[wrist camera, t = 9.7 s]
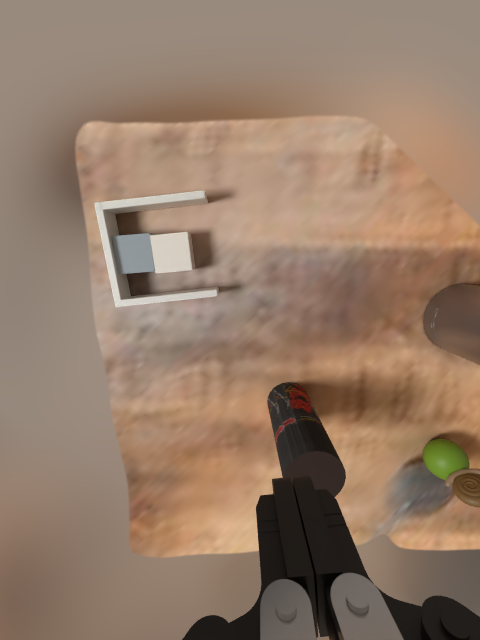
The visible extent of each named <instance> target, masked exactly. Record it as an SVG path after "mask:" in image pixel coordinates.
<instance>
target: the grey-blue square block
mask: <svg viewBox="0 0 480 640" xmlns="http://www.w3.org/2000/svg"><path fill="white" fill-rule="evenodd" d="M150 235H155V234H151V233H145V234H133V235H120V236H112V241H113V246H114V252H115V258H116V264H117V270H118V274H128V273H140V272H152V271H155V266H154V260H153V253H152V247H151V240H150Z"/></svg>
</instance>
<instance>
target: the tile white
mask: <svg viewBox="0 0 480 640" xmlns="http://www.w3.org/2000/svg"><path fill="white" fill-rule="evenodd" d="M150 240H151V247H152V253H153V260H154V266H155V273H166V272H177V271H188V270H194V269H195V261H194V253H193V245H192V237H191V233H189V232H181V233H170V234H160V235H150Z"/></svg>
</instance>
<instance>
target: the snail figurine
mask: <svg viewBox="0 0 480 640" xmlns="http://www.w3.org/2000/svg"><path fill="white" fill-rule="evenodd" d="M423 459H424V462H425V464H426V466H427V468H428V469H429V470H430V471H431V472H432V473H433V474H434V475H436V476H437V477H439V478H441V479H444V480H446V485H447V486H451V485H452V487H453V491H454V493H455V495H456V496H457V497H458V498H459V499H460V500H461V501H463V502H464V503H466V504H468V505H471V506H474V507H480V469H469V460H468V457H467V455H466V453H465V452H464V450H463V449H462V448H461V447H460V446H459V445H457V444H456V443H454V442H452V441H449V440H446V439H435V440H432V441H430V442H429V443H427V444H426V446H425V447H424V450H423Z"/></svg>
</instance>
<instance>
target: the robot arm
mask: <svg viewBox="0 0 480 640" xmlns="http://www.w3.org/2000/svg"><path fill="white" fill-rule="evenodd" d="M423 322H424V329H425V333H426V335H427V336H428V338H429V340H430V341H431V342H432V343H434V344H435V345H437V346H438V347H440V348H443V349H445V350H447V351H449V352H452V353H454V354H456V355H458V356H460V357H462V358H465V359H467V360H469V361H471V362H474V363H476V364H478V365H480V286H478V285H469V284H456V285H453V286H449V287H447V288H445V289H443V290H442V291H440V292H439V293H438V294H436V295H435V296H434V298H433V299H432V300H431V301H430V303H429V305H428V306H427V308H426V311H425V314H424V321H423ZM272 485H273V494H271V495H261V496H260V498H259V501H258V504H257V506H256V514H257V527H258V541H259V554H260V567H261V582H262V585H261V591H260V595H259V598H258V600H257V602H256V603H255V605H254V606H253V607H252V609H251V610H250V611H248V612H247V613H246V614H244V615H243V616H241V617H239V618H237V619H236V620H234V621H232V622H230V623H228V622H227V621H226V620H225V619H224V618H222V617H219V616H216V615H210V616H206V617H203V618H201V619H200V620H198V621H197V622H196V623H195V624H194V625H193V626H192V627H191V628H190V629H189V631H188V632H187V634H186V635H185V637H184V638H183V639H182V640H317V637H318V629H319V633H320V637H324V636H329V639H330V640H480V617H479V616H477V615H476V614H475V613H473V612H472V611H470V610H469V609H468V608H466V607H465V606H463V605H462V604H460V603H459V602H457V601H455V600H453V599H451V598H448V597H444V596H432V597H429V598H428V599H426V600H425V601H424V603H423V605H422V607H421V606H417V605H414V604H410V603H406V602H402V601H399V600H396V599H394V598H392V597H390V596H388V595H386V594H385V593H383V592H382V591H381V590H379V589H378V588H377V587H376V586H375V585H374V584H373V582H372V581H371V580H370V578H369V577H368V575H367V573H366V571H365V569H364V567H363V564H362V561H361V559H360V557H359V554H358V552H357V549H356V547H355V544H354V542H353V539H352V537H351V534H350V532H349V529H348V527H347V526H346V522H345V520H344V517H343V516H342V512H341V510H340V507H339V505H338V503H337V500H336V499H335V498H334V497H333V496H332V494H331V493H330V492H329V491H328V490H327V489H320V490H315V488H314V485H313V482H312V479H311V477H310V475H306V476H296V477H291V478H290V477H287V478H277V479H272ZM317 624H318V629H317Z"/></svg>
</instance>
